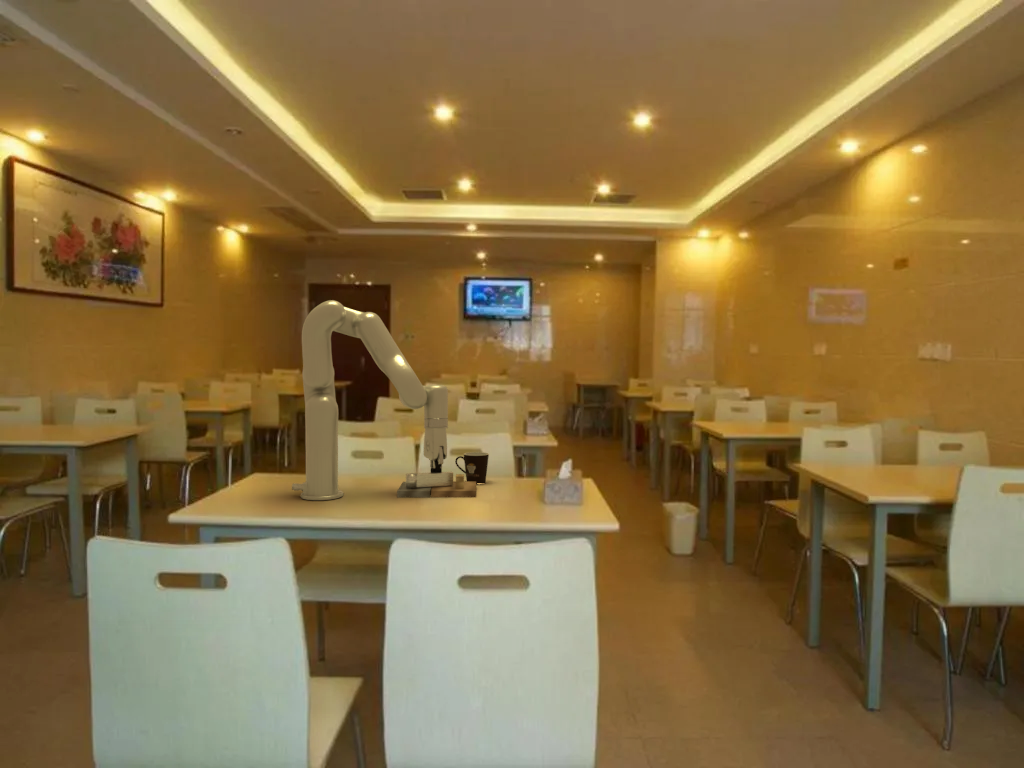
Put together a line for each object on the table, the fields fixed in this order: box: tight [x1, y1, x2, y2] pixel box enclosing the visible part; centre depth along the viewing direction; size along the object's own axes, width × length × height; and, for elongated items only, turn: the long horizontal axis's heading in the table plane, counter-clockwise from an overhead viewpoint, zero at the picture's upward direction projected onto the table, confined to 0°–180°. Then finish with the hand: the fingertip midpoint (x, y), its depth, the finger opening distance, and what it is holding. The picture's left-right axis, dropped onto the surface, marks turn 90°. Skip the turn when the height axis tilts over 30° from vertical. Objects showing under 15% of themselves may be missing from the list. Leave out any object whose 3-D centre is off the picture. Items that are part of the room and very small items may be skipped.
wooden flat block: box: [396, 473, 477, 498], centre depth 219 cm, size 24×16×6 cm, turn 92°
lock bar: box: [405, 471, 454, 488], centre depth 217 cm, size 15×4×4 cm, turn 109°
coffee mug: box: [454, 451, 490, 484], centre depth 237 cm, size 12×9×10 cm
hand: (436, 480), depth 221 cm, fingers closed
